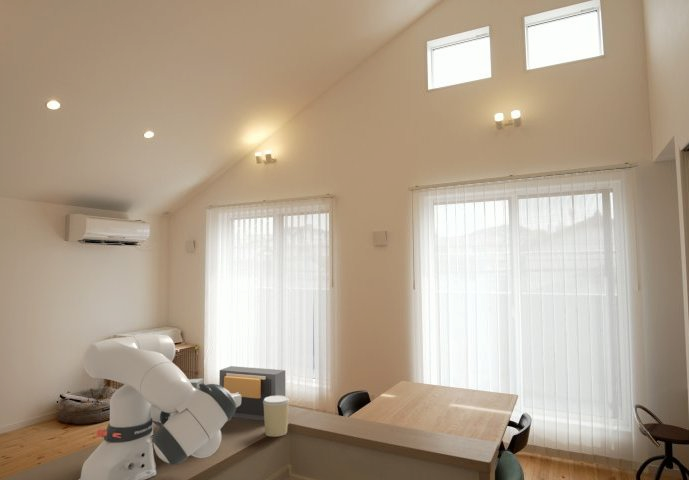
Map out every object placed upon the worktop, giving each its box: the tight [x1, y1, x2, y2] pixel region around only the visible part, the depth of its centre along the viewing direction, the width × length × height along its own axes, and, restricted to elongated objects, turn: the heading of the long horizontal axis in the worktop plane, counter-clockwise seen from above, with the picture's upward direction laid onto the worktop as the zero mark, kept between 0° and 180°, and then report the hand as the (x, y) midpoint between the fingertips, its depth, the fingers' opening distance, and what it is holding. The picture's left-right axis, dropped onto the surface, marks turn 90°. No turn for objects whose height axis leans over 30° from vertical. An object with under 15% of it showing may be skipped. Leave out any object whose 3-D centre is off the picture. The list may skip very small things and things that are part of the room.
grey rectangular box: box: [218, 365, 286, 422], centre depth 182 cm, size 9×26×18 cm, turn 69°
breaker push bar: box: [224, 376, 261, 399], centre depth 177 cm, size 3×16×7 cm, turn 69°
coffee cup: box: [263, 395, 290, 438], centre depth 163 cm, size 9×9×12 cm
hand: (226, 393), depth 167 cm, fingers open, 8 cm apart
